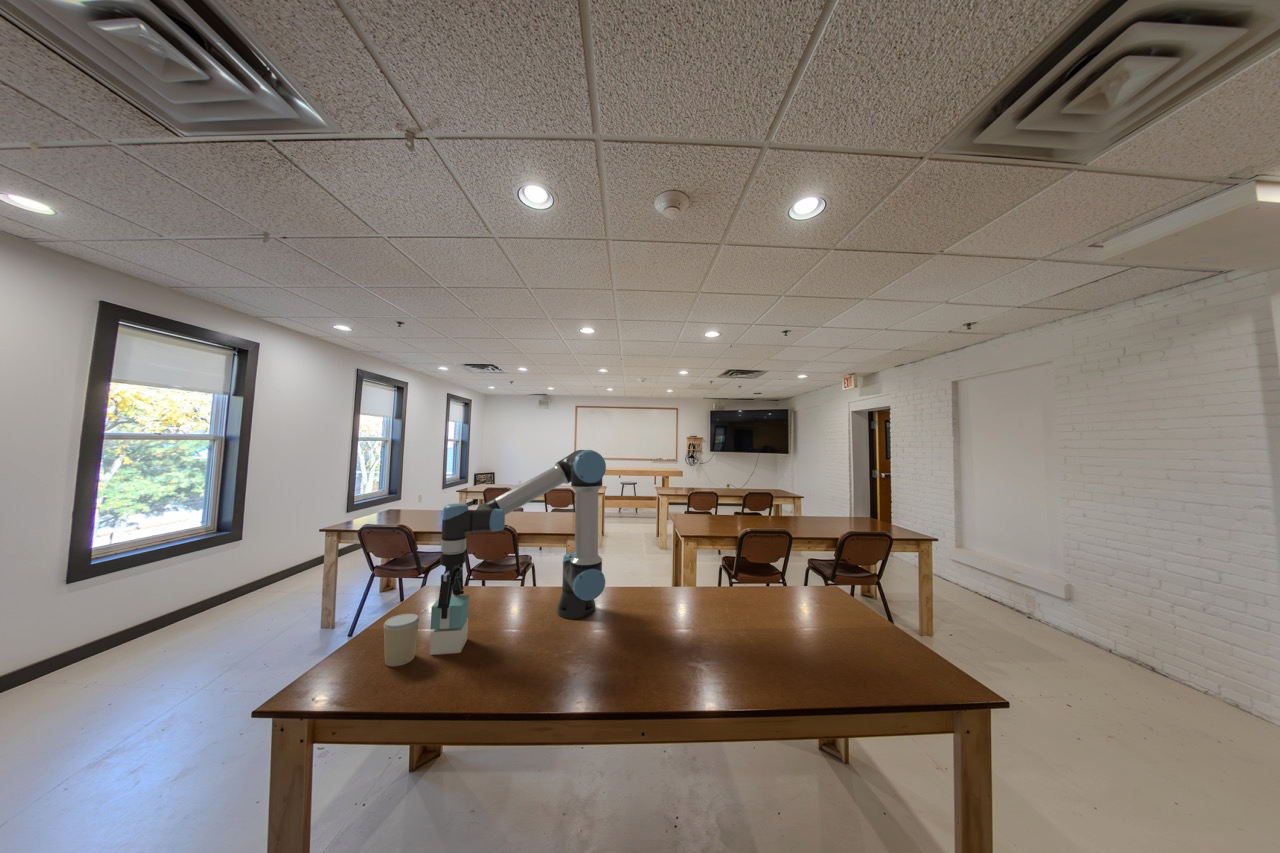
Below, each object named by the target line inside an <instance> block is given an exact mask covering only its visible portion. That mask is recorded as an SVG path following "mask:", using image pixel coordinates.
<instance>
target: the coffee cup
mask: <svg viewBox="0 0 1280 853" xmlns="http://www.w3.org/2000/svg"><path fill="white" fill-rule="evenodd" d="M419 622H420V617H419V616H418V615H417V614H415V613H402V614H397V615H394V616H391V617H389V618H388V619H386V620H385V622H384V623H383V636H384V637H383V642H384V643H383V644H384V645H383V646H384V648H383V649H384V663H385V666H388V667H399V666H403V665H406V664H408V663H410V662H412V661H413V660H414V658H415V653H416V649H417V648H416V647H417V638H418V629H419Z"/></svg>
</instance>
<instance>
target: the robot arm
mask: <svg viewBox="0 0 1280 853" xmlns="http://www.w3.org/2000/svg"><path fill="white" fill-rule="evenodd" d="M606 471H607V464H606V460H605V458H604V457H603V456H602V455H601V454H600V453H599V452H597V451H595V450H592V449H579V450H575V451H573V452H571V453H570V454H569V455H567V456H565V457H563V458H562V459H560V460H558V461H557V462H555V464H554V466H553V467H551V468H549V469H547V470H545V471H544V472H541V473H540V474H537V475H536V476H534V477H532V478H530V479H529V480H527V481H524V482H523V483H520V484H519V485H517V486H515V487H513V488H511V489H510V490H508V491H506V492H504V493H502V494H501V495H498V496H496V497H495V498H493V499H491V500H490V501H487V502H483V503H481V504H480V505H479V506H477V508H476V509H469V507H468V506H469V505H468V504H466V503H450V504H449V503H448V504H446V505H445V506H444V507H443V510H442V519H441V541H440V542H439V545H440V551H441V553H440V565H441V566H443V567H445V570H444V572H443V574H440V588H439V595H438V599H439V602H438V606H437V608H441V612H440V629H447V628H449V627H450V607H451V606H449V605H450V599H451V596H459V595H464V594H465V593H464V592H465V591H464V571H463V569H464V563H465V562H466V554H467V552H466V550H467V534H468V533H469V534H470V533H486V532H489V533H495V532H500V531H503V530H504V529H505V524H506V516H507V515H508V514H511V513H512V512H513V511H515V510H518V509H519V508H521V507H523V506H524V505H526V504H528V503H531V502H532V501H534V500H535V499H537V498H539V497H541V496H543V495H544V494H546V493H548V492H550V491H553V490H554V489H555V488H557V487H559V486H561V485H562V484H567V485H568V484H571V485H570V487H571V488H572V489H573V490H574V491H575V495H574V496H575V497H574V503H575V504H574V506H575V507H574V552H568V553H566V554H564V555H563V560H562V591H561V595H560V597H559V599H558V600H559V601H558V604H557V607H556V611H557V612H556V614H557V615H558V616H559V617H561V618H564V619H569V620H579V619H585V618H588V616H589V617H590V615H591V616H592V614H593V613H594V612H596V602H595V599H597V598H598V597H600V595H601V594H602V593H603V592H604V590H605V587H606V577H605V575H604V573H603V558H602V557H601V555H599V490H600V489H601V488H602V487H603V477H604V476H605V474H606ZM594 614H595V613H594ZM594 614H593V615H594Z"/></svg>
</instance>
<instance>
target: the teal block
mask: <svg viewBox="0 0 1280 853" xmlns="http://www.w3.org/2000/svg"><path fill="white" fill-rule="evenodd" d="M438 602H439V598H438V599H437V600H436V602H435V603H433V604H432V606H431V610H430V611H431V612H430V614H431V615H430V630H433V629H440V612H441V608H437V606H438ZM449 606H451V607H450V627H449V628H447V629H451V628H461V627H462V625H463V624H464V622H465V621H466V619H469V618H468V617H469V611H470V594H467V595H465V594H460V595H459V596H452V595H451V599H450V605H449Z"/></svg>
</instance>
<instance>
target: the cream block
mask: <svg viewBox="0 0 1280 853" xmlns="http://www.w3.org/2000/svg"><path fill="white" fill-rule="evenodd" d="M468 628H469V618H467V619H466V621H465V622H464V624H463V625H462V627H461V628H451V629H431V630H432V631H430V641H429V642H430V643H429V655H430V656H432V655H433V656H434V655H446V654H459V653H461V652H462V651H463V649H464V646H465V644H466V642H467V640H468V631H469V629H468Z"/></svg>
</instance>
